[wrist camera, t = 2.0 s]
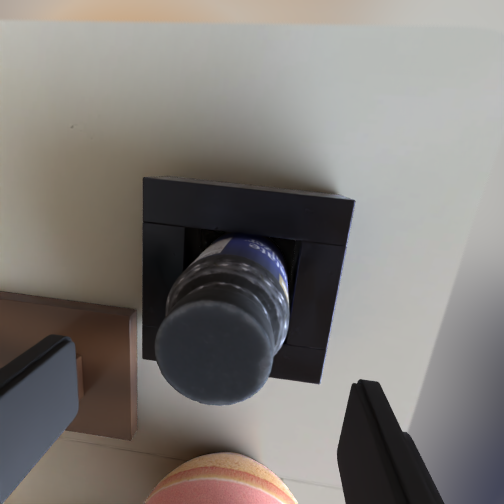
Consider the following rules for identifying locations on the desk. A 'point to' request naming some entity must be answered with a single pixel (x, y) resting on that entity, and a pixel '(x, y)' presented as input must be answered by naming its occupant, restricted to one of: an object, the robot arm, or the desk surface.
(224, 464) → the vase
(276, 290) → the pill bottle
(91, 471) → the desk surface
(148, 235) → the holder
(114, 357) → the stand
